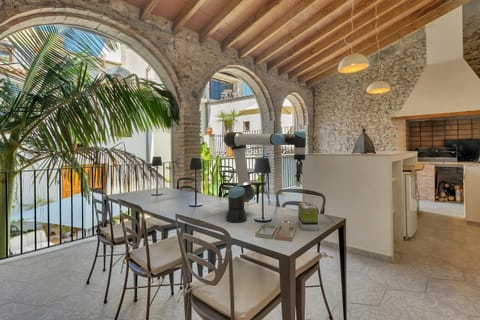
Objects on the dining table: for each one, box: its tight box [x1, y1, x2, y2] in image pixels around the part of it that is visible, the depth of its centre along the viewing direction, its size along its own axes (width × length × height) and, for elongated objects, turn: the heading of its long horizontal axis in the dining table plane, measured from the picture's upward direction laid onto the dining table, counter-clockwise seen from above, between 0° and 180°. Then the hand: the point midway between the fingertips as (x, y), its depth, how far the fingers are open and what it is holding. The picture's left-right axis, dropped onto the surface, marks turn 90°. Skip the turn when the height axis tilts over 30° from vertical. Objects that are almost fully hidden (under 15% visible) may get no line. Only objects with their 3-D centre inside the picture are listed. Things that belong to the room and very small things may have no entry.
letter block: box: [281, 220, 290, 236], centre depth 149 cm, size 4×4×8 cm
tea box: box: [297, 201, 319, 231], centre depth 163 cm, size 15×10×15 cm
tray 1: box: [254, 222, 279, 240], centre depth 153 cm, size 10×18×2 cm, turn 160°
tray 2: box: [273, 224, 297, 242], centre depth 149 cm, size 10×18×2 cm, turn 160°
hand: (298, 184), depth 168 cm, fingers open, 13 cm apart
